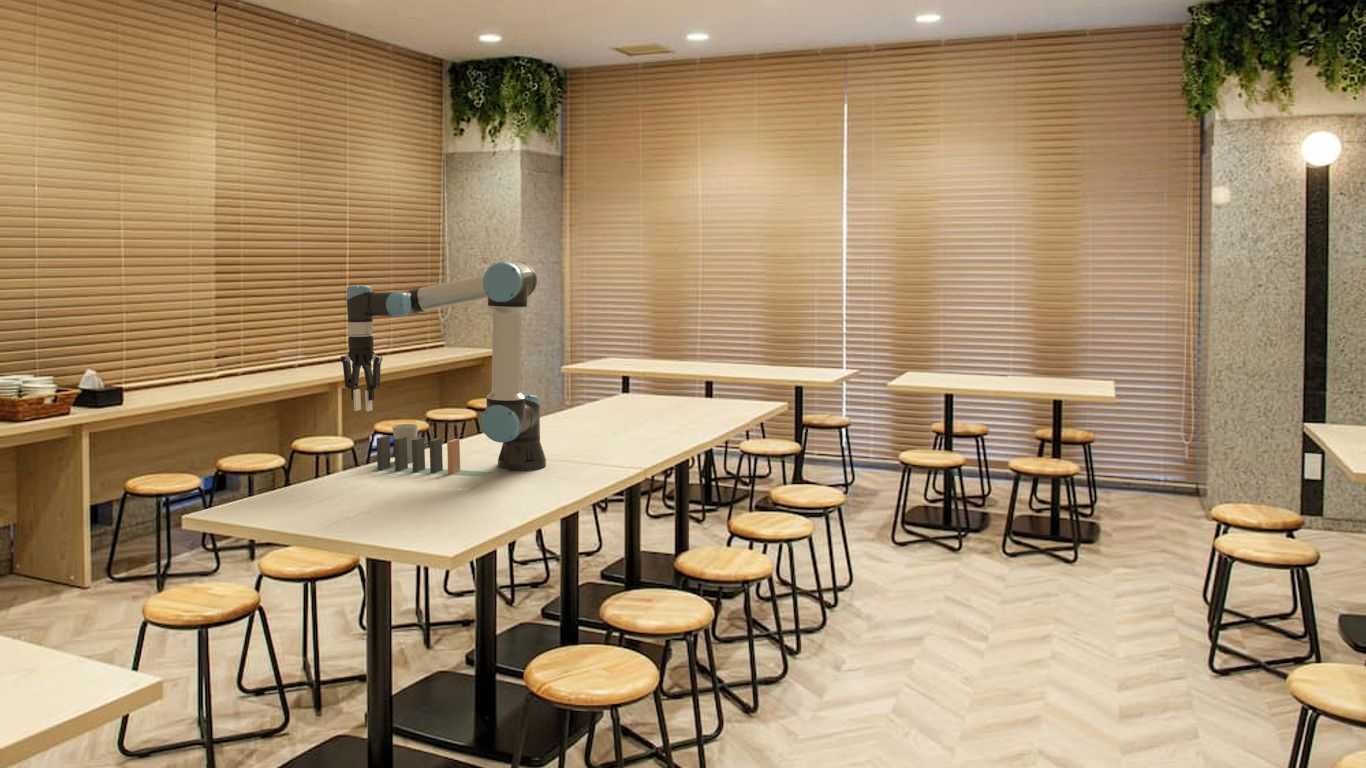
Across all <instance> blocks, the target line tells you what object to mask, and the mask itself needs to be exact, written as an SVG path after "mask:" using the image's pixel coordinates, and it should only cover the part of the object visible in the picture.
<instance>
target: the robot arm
mask: <svg viewBox="0 0 1366 768" xmlns="http://www.w3.org/2000/svg"><path fill="white" fill-rule="evenodd" d="M537 283H538V277H537V273H536V271H535V270H534V268H533V267H532V266H531V265H530V264H528V263H526V262H524V261H519V260H518V261H517V260H516V261H515V260H514V261H509V260H505V261H503V260H502V261H499V262H495V263H494V264H492V265H490V266H489V268H487V269H486V270H485V273H484V275H480V276H479V275H478V276H474V277H469V278H464V279H460V280H453V281H449V282H448V281H447V282H445V283H439V284H434V285H429V286H423V287H419V288H413V289H409V290H403V291H399V290H398V291H378V292H377V291H373V290H372V287H371V285H362V284H361V285H359V284H358V285H349V286H348V287H347V288H346V299H345V302H346V309H347V313H346V315H347V322H346V323H347V335H348V337H347V343H348V344H347V346H348V349H349V350H348V351H347V354H345V355H342V356H340V361H341V363H342V368H343V379H344V386H345V388H348V389H349V390H351V393H350V394H351V395H350V396H351V397H350V398H351V400H353V411H354V412H358V411H361V410H362V405H361V404H362V403H361V399H362V398H361V389H359V388H360V387H359V381H360V373H361V367H362V370H363V372H364V373H363V374H364V378H365V379H364V380H365V384H366V387H367V388H366V389H365V391H364V393H365V395H364V397H365V400H364V401H365V412H370V411H373V408H374V407H373V401H374V400H375V390H376V389H379V388H380V387H381V366H382V365H381V363H382V361H383V356H380V355H379V356H378V355H377V354H376V353H375V351H374V346H375V345H374V344H375V343H374V337H373V334H374V325H373V324H374V321H373V320H374V319H373V317H387V318H390V317H392V318H401V317H407V316H408V315H412V316H413V315H416V314H419V313H424V312H427V311H433V310H440V309H443V308H450V307H454V306H460V305H465V304H470V303H475V302H480V301H485V300H487V307H488V308H489V309H490V310H491V312H492V346H491V347H492V349H491V351H492V353H491V354H492V357H491V391H490V392H489V393H488V395H486V401H485V403H486V405H485V406H486V409H485V410H484V411H483V412H482V415H481V418H480V427H481V429H482V430H481V431H482V432H483V433H484V435H485V436H486V437H487V438H488V439H489V440H491V441H493V442H496V443H502V446H501V449H500V451H499V455H498V457H497V467H498V468H500V469H503V470H507V471H531V470H539V469H542V468H545V467H546V466H547V458H546V455H545V452H544V449H543V446H542V444H541V424H540V422H541V418H540V417H541V416H540V414H541V412H540V410H541V409H540V407H541V405H540V397H539V396H538V395H535V394H524V393H522V391H521V385H522V384H521V376H522V375H521V374H522V370H521V369H522V324H523V323H522V319H523V317H522V316H523V312H524V311H525V310H526V309H528V297H529V296H531V295H532V294H533V293H534V292H535V289H536V287H537V285H538V284H537ZM351 362H352V363H351ZM372 362H373V364H372Z"/></svg>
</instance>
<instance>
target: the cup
mask: <svg viewBox="0 0 1366 768" xmlns="http://www.w3.org/2000/svg"><path fill="white" fill-rule="evenodd" d="M418 429H419V425H418V424H417V423H416V424H414V423H400V424H394V425H392V434H393V440H394V439H396V438H399V437H407V459H408V464H412V440H413V439H416V438H418Z"/></svg>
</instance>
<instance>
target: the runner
mask: <svg viewBox="0 0 1366 768" xmlns="http://www.w3.org/2000/svg"><path fill="white" fill-rule="evenodd" d="M370 471H373V472H388V473H389V472H390V473H392V472H393V473H404V474H405V473H407V474H409V473H410V474H426V475H427V474H429V475H445V476H447V475H448V476H464V477H465V476H466V477H481V478H482V477H486V476H488V475H492V474H494V471H481V470H479V471H478V470H461V469H460V471H459V472H457V473H454V474H448V469H445V468H443V470H442V471H439V472H437V473H430V468H426V467H425V469H424V470H422V471H419V472H413V467H408V468H407V469H405V470H402V471H395V466H391V467H390V468H387V469H385V470H378V467H377V468H374V469H372V470H370Z"/></svg>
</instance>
